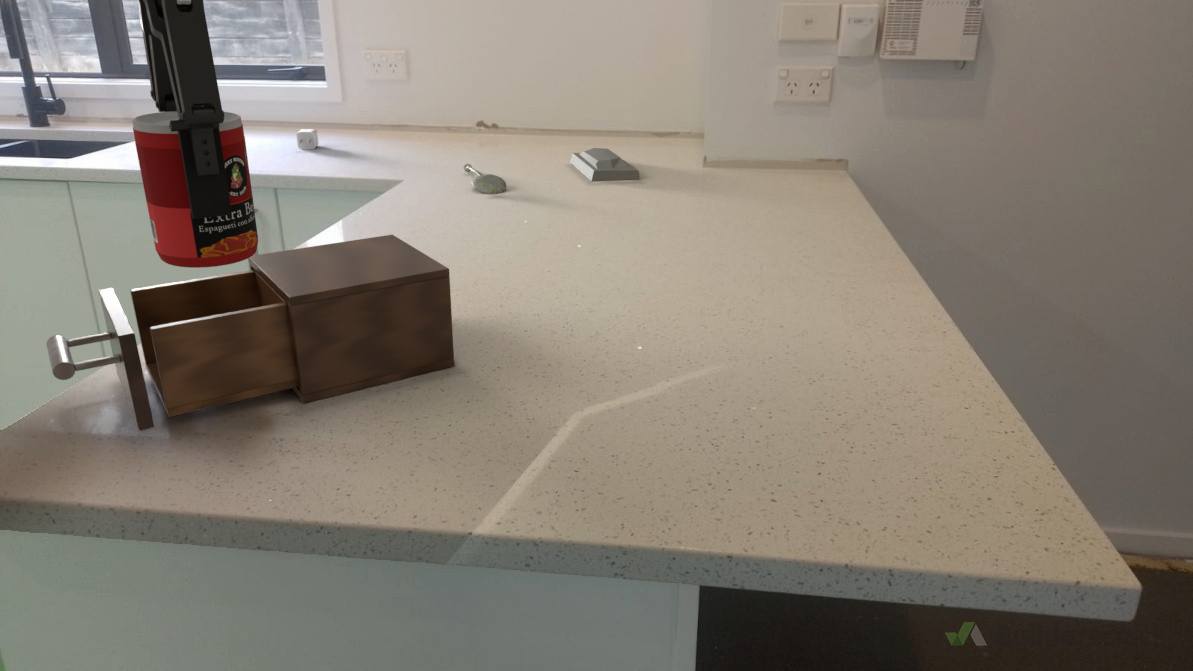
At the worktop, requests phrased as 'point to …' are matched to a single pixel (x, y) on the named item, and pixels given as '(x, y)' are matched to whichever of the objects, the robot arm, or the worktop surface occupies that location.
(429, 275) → the cabinet
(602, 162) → the grey flat stepped block
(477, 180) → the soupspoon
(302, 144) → the usb wall charger
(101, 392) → the worktop surface
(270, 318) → the drawer
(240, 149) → the canned food
